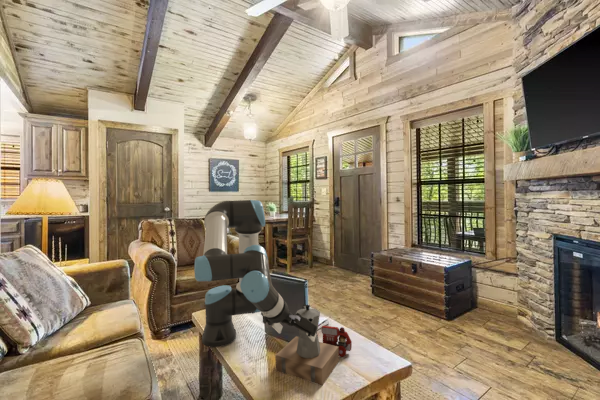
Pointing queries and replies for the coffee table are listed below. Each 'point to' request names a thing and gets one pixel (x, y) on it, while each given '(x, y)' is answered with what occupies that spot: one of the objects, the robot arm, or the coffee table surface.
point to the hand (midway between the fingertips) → (297, 333)
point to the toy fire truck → (332, 338)
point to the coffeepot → (305, 344)
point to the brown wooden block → (307, 362)
